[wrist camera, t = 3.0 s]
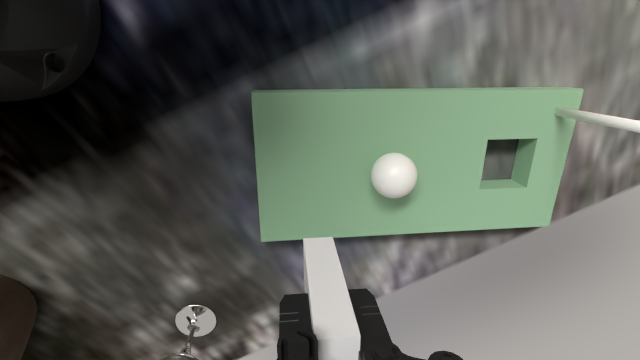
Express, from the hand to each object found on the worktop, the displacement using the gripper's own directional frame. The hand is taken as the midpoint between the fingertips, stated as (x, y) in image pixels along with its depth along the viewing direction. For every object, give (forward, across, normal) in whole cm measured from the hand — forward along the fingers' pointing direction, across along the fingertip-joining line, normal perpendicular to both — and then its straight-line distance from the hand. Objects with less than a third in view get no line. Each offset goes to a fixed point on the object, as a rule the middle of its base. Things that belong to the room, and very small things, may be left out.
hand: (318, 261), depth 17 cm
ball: (+12, +8, 0) cm, 15 cm away
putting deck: (+17, +11, 0) cm, 20 cm away
